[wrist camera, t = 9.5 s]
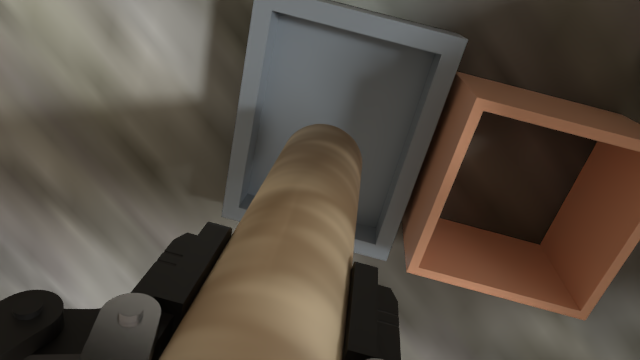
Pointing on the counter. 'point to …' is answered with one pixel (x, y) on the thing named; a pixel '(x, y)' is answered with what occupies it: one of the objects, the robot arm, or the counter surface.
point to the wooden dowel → (283, 262)
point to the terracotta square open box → (566, 229)
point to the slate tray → (342, 101)
